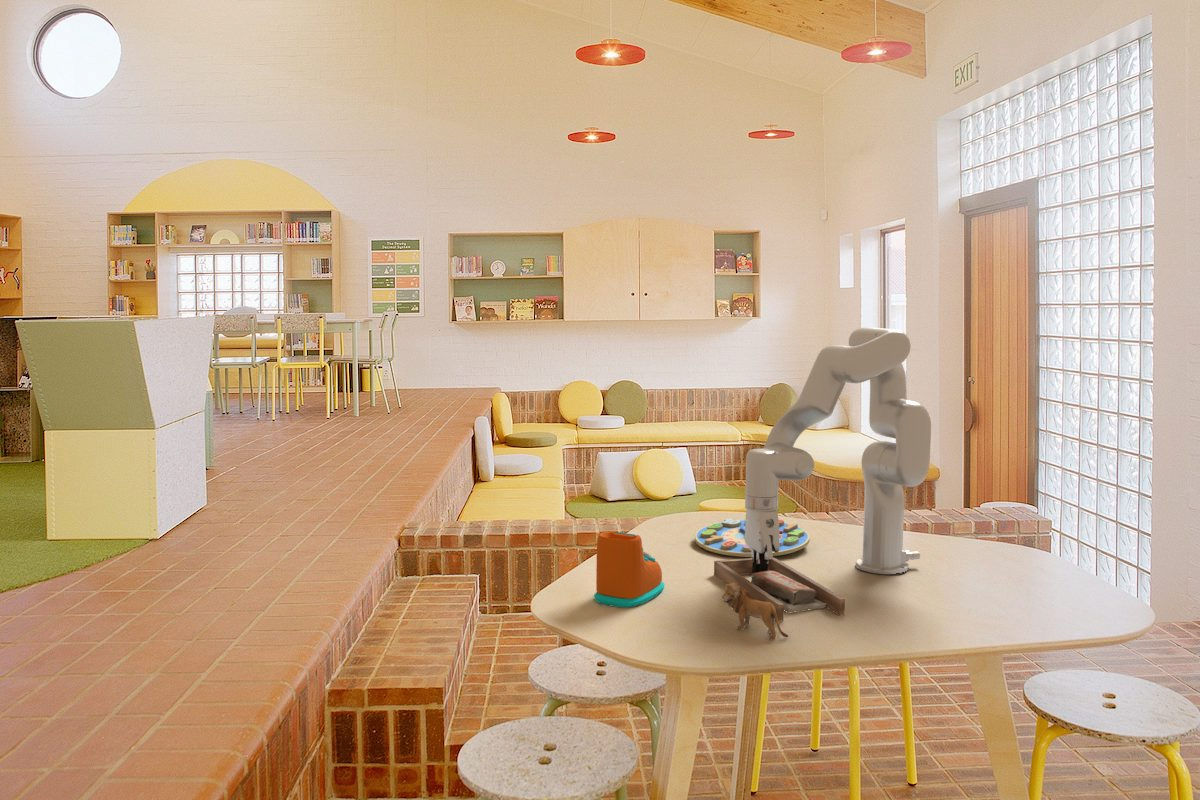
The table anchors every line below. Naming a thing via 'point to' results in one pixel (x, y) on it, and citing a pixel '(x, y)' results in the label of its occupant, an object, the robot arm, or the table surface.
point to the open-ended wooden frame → (734, 568)
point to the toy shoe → (625, 571)
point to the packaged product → (787, 591)
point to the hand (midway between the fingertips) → (759, 578)
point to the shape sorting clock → (732, 538)
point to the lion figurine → (751, 608)
